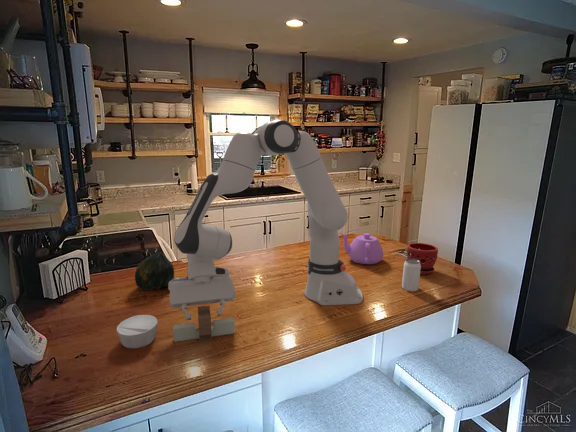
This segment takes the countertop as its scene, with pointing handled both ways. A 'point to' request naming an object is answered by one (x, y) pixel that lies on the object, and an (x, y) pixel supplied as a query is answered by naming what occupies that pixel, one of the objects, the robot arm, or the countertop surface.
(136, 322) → the ramekin
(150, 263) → the squash
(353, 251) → the teapot
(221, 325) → the slotted rail
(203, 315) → the walnut block
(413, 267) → the can
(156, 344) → the countertop surface
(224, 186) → the robot arm
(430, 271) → the plant pot
